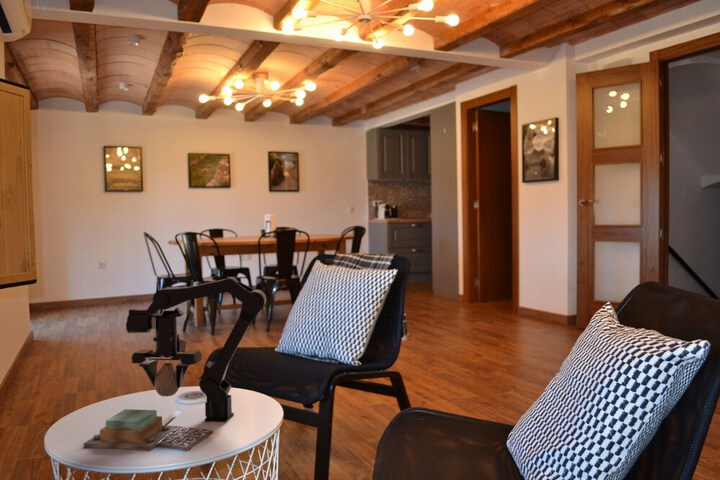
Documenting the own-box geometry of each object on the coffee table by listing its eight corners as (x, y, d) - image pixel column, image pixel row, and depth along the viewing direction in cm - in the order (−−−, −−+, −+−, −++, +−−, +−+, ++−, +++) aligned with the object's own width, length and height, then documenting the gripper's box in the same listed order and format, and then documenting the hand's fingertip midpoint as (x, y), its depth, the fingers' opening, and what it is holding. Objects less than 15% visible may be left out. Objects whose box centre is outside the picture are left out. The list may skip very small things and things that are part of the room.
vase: (183, 391, 163) (184, 361, 162) (173, 398, 156) (174, 367, 155) (161, 390, 163) (161, 360, 163) (150, 397, 156) (150, 366, 156)
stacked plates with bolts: (177, 429, 152) (176, 407, 152) (151, 449, 138) (150, 425, 138) (115, 427, 154) (114, 405, 154) (83, 447, 140) (83, 423, 140)
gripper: (209, 327, 166) (209, 380, 166) (149, 327, 168) (150, 378, 169) (192, 334, 155) (193, 390, 155) (129, 333, 157) (130, 389, 158)
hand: (167, 386), depth 159 cm, fingers closed on vase, 7 cm apart
